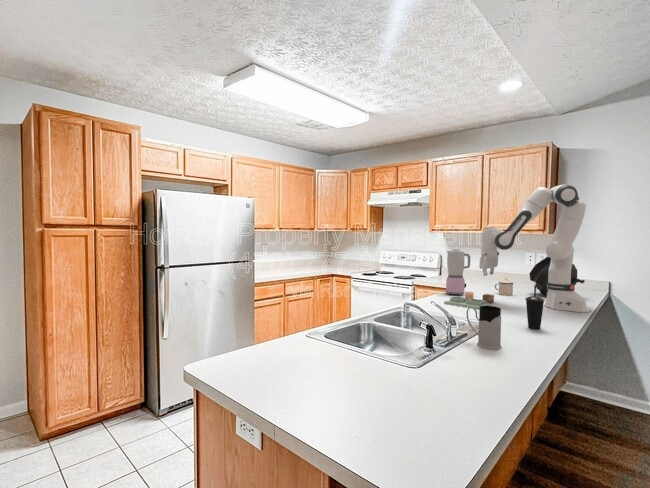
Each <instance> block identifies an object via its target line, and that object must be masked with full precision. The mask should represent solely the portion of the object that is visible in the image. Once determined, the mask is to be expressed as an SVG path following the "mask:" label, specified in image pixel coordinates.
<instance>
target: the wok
mask: <svg viewBox="0 0 650 488" xmlns="http://www.w3.org/2000/svg"><path fill="white" fill-rule="evenodd" d="M550 262H551V258H550V257H548V256H547V257H545V258H543V259H542V260H540V261H539V262H537V263H536V264H535V265H534V267H533V268H532V269H531V271H530V272H529V273H528V274H529V280H530V281H531V282H534V283H535V284H534V285H536V290H539V293H540V294H542V295H547V283H548V272H549V267H550ZM585 281H586V280H585V279H580V278H578V269H577V268H576V265H575V264H574V263H572V267H571V284H572V285H573V286H575V287H576V285H577V283H580V284H584V283H585Z"/></svg>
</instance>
